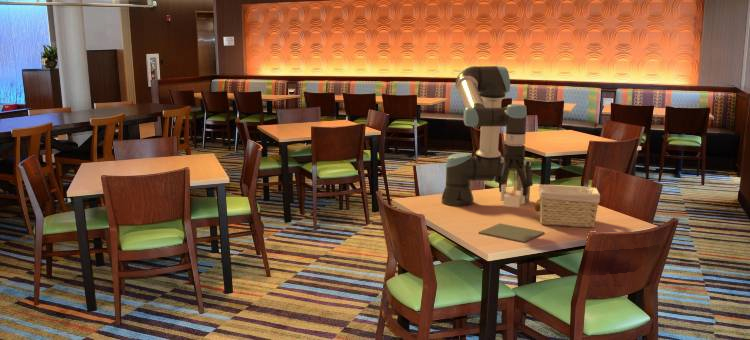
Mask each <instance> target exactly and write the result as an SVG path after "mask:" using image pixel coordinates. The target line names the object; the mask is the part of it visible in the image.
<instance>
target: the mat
mask: <svg viewBox="0 0 750 340" xmlns="http://www.w3.org/2000/svg"><path fill="white" fill-rule="evenodd" d="M478 234H479V235H484V236H489V237H495V238H499V239H505V240H509V241H513V242H519V243H522V244H526V243H528V242H529V241H531V240H534V239H536V238H539V237H540V236H542V235H545V231H541V230H536V229H531V228H527V227H520V226H515V225H510V224H509V225H508V224H505V223H501V222H499V223H498V224H494V225H492V226H489V227H488V228H485V229H483V230H481V231H478Z"/></svg>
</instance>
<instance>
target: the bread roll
mask: <svg viewBox="0 0 750 340" xmlns="http://www.w3.org/2000/svg"><path fill="white" fill-rule="evenodd" d="M534 210H535V211H536V212H539V213H540V198H539V199H537V201H535V203H534Z"/></svg>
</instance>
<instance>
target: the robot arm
mask: <svg viewBox="0 0 750 340" xmlns="http://www.w3.org/2000/svg"><path fill="white" fill-rule="evenodd" d="M455 89H456V91H457V93H458V94H459V95H460V96H461V99H462V101H463V104H464V107H465V108H464V110H463V123H464V125H465V126H466V127H474V128H476V127H480V134H479V135H480V136H479V149H477V150H476V151H475V155H474V156H472V153H469V152H460V153H453V154H451V155H448V156H447V158H446V160H445V188H444V190H443V193H442V196H441V203H442V204H443V205H447V206H453V207H464V206H470V205H473V204H474V201H475V200H474V195H473V191H472V188H471V182H495V183H498V185H499V186H498V187H499V193H500V201H501V202H504V195H505V193H506V191H507V183H506V180H507V179H508V176H509V174H510V172H511V170H512V169H516V170H517V171H518V174H519V177H520V180H521V183H522V186H523V187H521V194H520V204H524V203H525V196H526V195H527V193H528V187H530V188H531V187H532V186H533V185H534V183H533V173H532V163H533V162H532V160H527V159H526V158H525V154H526V146H525V144H526V131H527V116H528V113H527V105H525V104H519V103H518V104H517V103H514V104H508V105H507V106H505V107H502V100H504V98H506V94H507V93H509V92H510V89H511V79H510V74H509V71H508V69H507V67H505V66H498V65H493V66H492V65H490V66H487V65H486V66H483V65H482V66H481V65H480V66H478V65H477V66H476V65H475V66H474V65H473V66H470V67H467V68H465V69H463V70H462V71H461V72H460V73H459V74H458V75H457V78H456V79H455ZM501 127H505V141H504V142H505V144H506V145H505V146H504V147H505V148H504V157H503V155H502V153H501V152H500V150H499V142H500V141H499V139H500V130H501V129H500V128H501ZM505 163H506V164H505ZM524 166H525V167H524ZM524 168H525V170H526V176H525V173H524V170H523V169H524Z"/></svg>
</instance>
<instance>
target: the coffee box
mask: <svg viewBox="0 0 750 340" xmlns="http://www.w3.org/2000/svg"><path fill="white" fill-rule="evenodd" d="M523 168H524V169H523V170H524V173H525V176H526V170H525V167H523ZM513 169H514V168H513ZM521 187H523V186H522V183H521V180H520V177H519V174H518V171H517V170H516V169H514V170H513V190H516V191H521ZM530 190H531V186H530V187H528V193H527V195H526V196H525V203H524V204H520V206H521V205H524V206H525V205H526V206H527V205H530V193H531V191H530Z"/></svg>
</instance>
